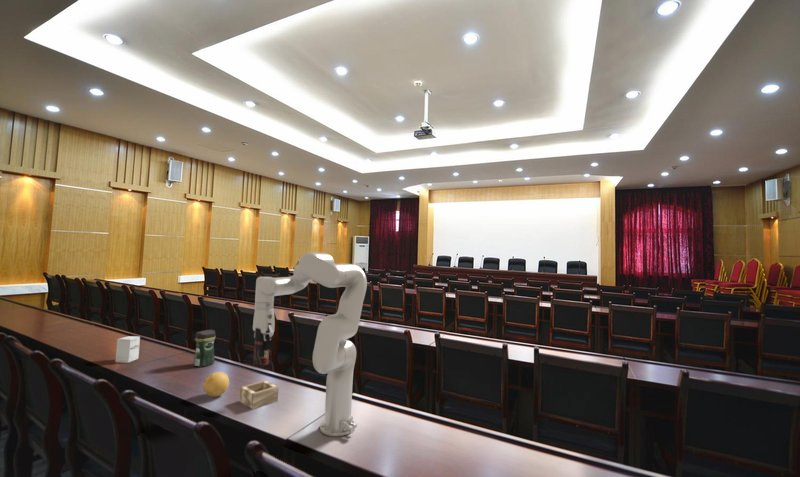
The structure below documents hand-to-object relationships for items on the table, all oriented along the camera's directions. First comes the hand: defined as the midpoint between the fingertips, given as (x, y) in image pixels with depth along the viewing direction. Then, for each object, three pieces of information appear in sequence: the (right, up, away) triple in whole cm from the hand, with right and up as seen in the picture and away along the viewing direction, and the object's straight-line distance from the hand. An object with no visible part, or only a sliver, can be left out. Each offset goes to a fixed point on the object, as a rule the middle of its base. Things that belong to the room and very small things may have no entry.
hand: (261, 347), depth 146 cm
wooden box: (-1, -22, -1) cm, 22 cm away
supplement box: (-92, -21, +43) cm, 104 cm away
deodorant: (0, -7, 0) cm, 7 cm away
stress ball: (-21, -22, +3) cm, 30 cm away
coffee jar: (-49, -23, +42) cm, 68 cm away
